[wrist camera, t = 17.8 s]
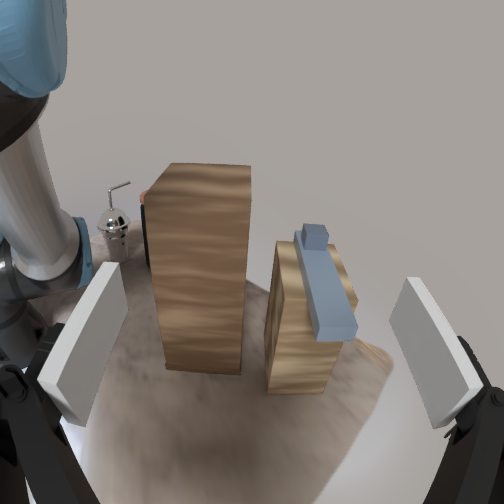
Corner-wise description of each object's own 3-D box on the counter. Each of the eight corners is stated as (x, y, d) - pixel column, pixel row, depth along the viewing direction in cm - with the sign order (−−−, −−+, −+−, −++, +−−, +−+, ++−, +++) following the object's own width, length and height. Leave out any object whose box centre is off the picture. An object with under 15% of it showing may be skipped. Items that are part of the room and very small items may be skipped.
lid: (352, 341, 30) (365, 309, 28) (315, 341, 30) (325, 308, 28) (319, 243, 47) (324, 217, 45) (293, 242, 47) (297, 215, 45)
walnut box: (240, 374, 49) (253, 201, 33) (166, 369, 48) (141, 196, 33) (241, 316, 61) (252, 165, 46) (179, 312, 61) (170, 162, 45)
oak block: (322, 393, 46) (358, 300, 36) (266, 394, 46) (284, 298, 36) (311, 335, 58) (333, 244, 47) (264, 334, 57) (276, 240, 47)
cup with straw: (108, 250, 78) (98, 179, 68) (139, 250, 79) (132, 178, 69) (99, 268, 71) (85, 192, 61) (133, 268, 72) (123, 190, 62)
